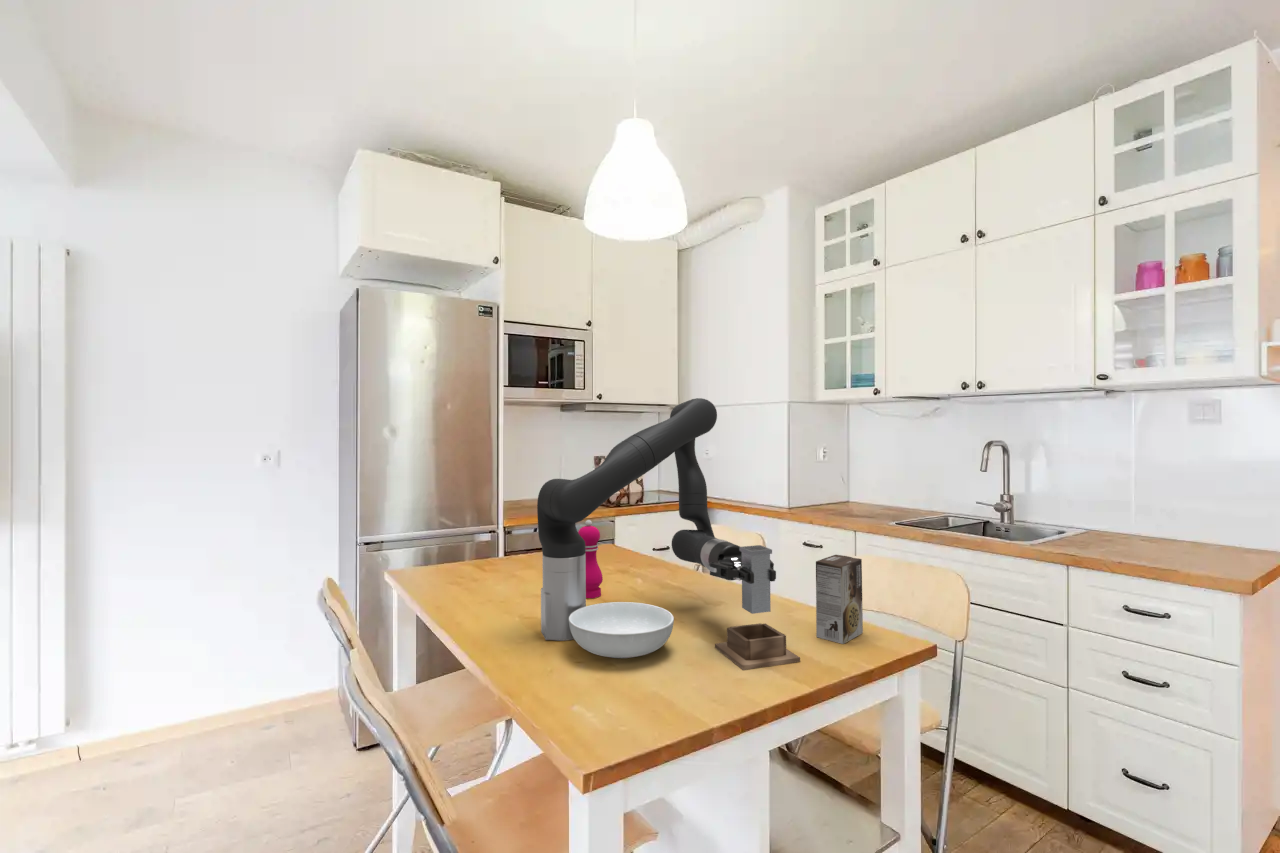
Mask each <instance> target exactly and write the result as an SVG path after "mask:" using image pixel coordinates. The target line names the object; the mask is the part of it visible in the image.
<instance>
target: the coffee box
mask: <svg viewBox="0 0 1280 853" xmlns="http://www.w3.org/2000/svg"><path fill="white" fill-rule="evenodd" d="M862 560H863V559H862V558H856V557H853V556H847V555H842V554H833V555H831V556H827V557H824V558H822V559H818V560H815V595H816V596H815V600H816V601H815V610H816V611H815V612H816V613H815V616H816V618H815V619H816V624H815V626H816V633H815V634H816V635H815V636H816V638H819V639H822V640H827V641H830V642H834V643H838V644H841V645H844V644H846V643H848V642H850V641H851V640H853V639H855V638H856V637H858V636H860V635H863V633H864V627H863V626H864V624H863V622H864V621H863V618H864V617H863V614H864V613H863V570H862V569H863V568H862V567H863V566H862V563H863V562H862Z"/></svg>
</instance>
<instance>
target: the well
mask: <svg viewBox="0 0 1280 853" xmlns="http://www.w3.org/2000/svg"><path fill="white" fill-rule="evenodd" d="M714 649H716V650H717V651H719V653H720V654H722V655H724V656H725V657H726V659H728V660H730V661H731V662H732V663H733V664H735V665H736V666H737V667H738V668H740V669H741V670H742V671H744V670H751V669H752V670H753V669H760V668H765V667H773V666H779V665H780V666H781V665H787V664H794V663H799V662H801V657H800V656H799V655H797V654H795V653H794V652H792V651H790V650H789V649H787V635H786V634H784V633H783V632H780V631H779V630H777V629H776V628H775V627H772V626H770V625H769V624H767V623H761V622H760V623H754V624H744V625H743V624H742V625H736V626H730V627H727V628H726V641H724V642H718V643H717V642H716V643H714Z"/></svg>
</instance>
